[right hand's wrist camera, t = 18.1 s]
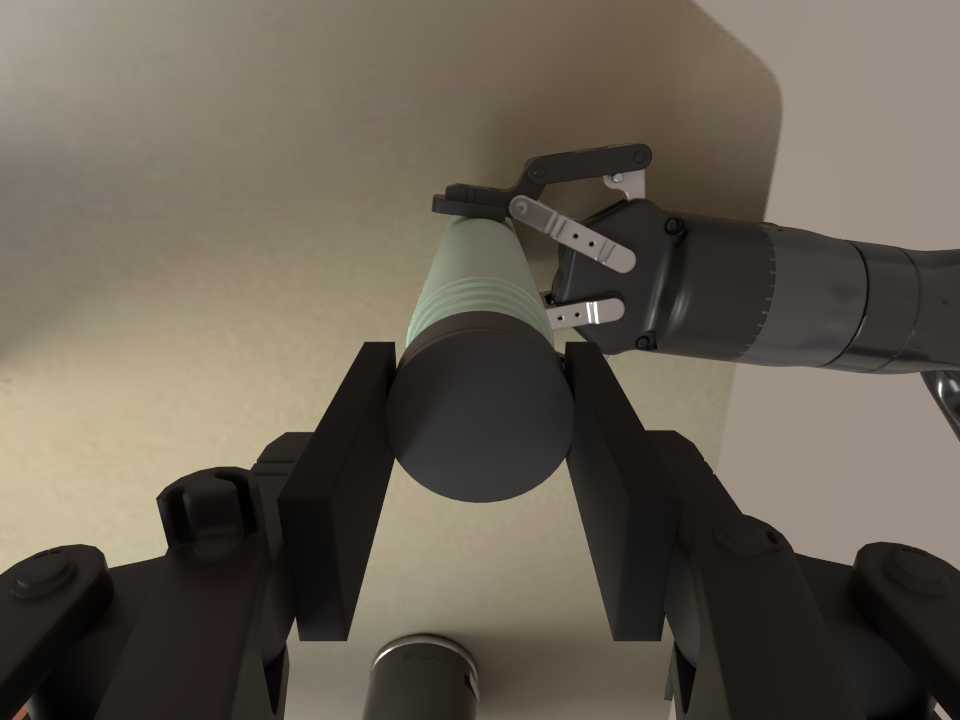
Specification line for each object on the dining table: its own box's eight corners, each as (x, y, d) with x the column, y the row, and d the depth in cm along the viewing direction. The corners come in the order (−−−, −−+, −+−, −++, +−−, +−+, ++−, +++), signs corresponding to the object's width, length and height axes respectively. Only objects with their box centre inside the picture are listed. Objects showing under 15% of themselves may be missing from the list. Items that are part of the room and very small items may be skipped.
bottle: (441, 272, 36) (382, 484, 14) (446, 199, 34) (386, 311, 12) (511, 278, 36) (561, 498, 14) (520, 206, 35) (590, 328, 13)
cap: (584, 326, 14) (597, 351, 12) (544, 476, 15) (552, 515, 14) (406, 295, 13) (396, 316, 12) (385, 451, 15) (373, 488, 13)
